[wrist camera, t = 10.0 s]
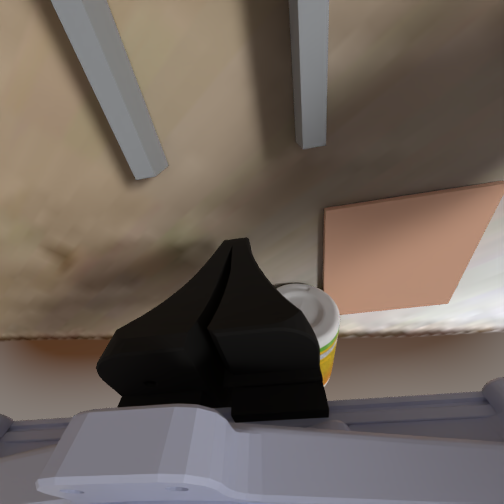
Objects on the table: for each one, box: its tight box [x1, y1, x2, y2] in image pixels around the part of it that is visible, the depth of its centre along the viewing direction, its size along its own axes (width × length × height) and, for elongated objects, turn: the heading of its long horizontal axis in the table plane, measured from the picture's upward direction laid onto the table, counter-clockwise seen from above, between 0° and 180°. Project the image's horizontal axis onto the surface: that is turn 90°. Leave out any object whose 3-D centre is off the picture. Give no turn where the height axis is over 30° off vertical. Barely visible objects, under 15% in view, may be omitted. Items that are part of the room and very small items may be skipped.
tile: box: [322, 181, 504, 315], centre depth 16 cm, size 10×10×1 cm
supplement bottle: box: [276, 283, 340, 386], centre depth 18 cm, size 5×5×10 cm
